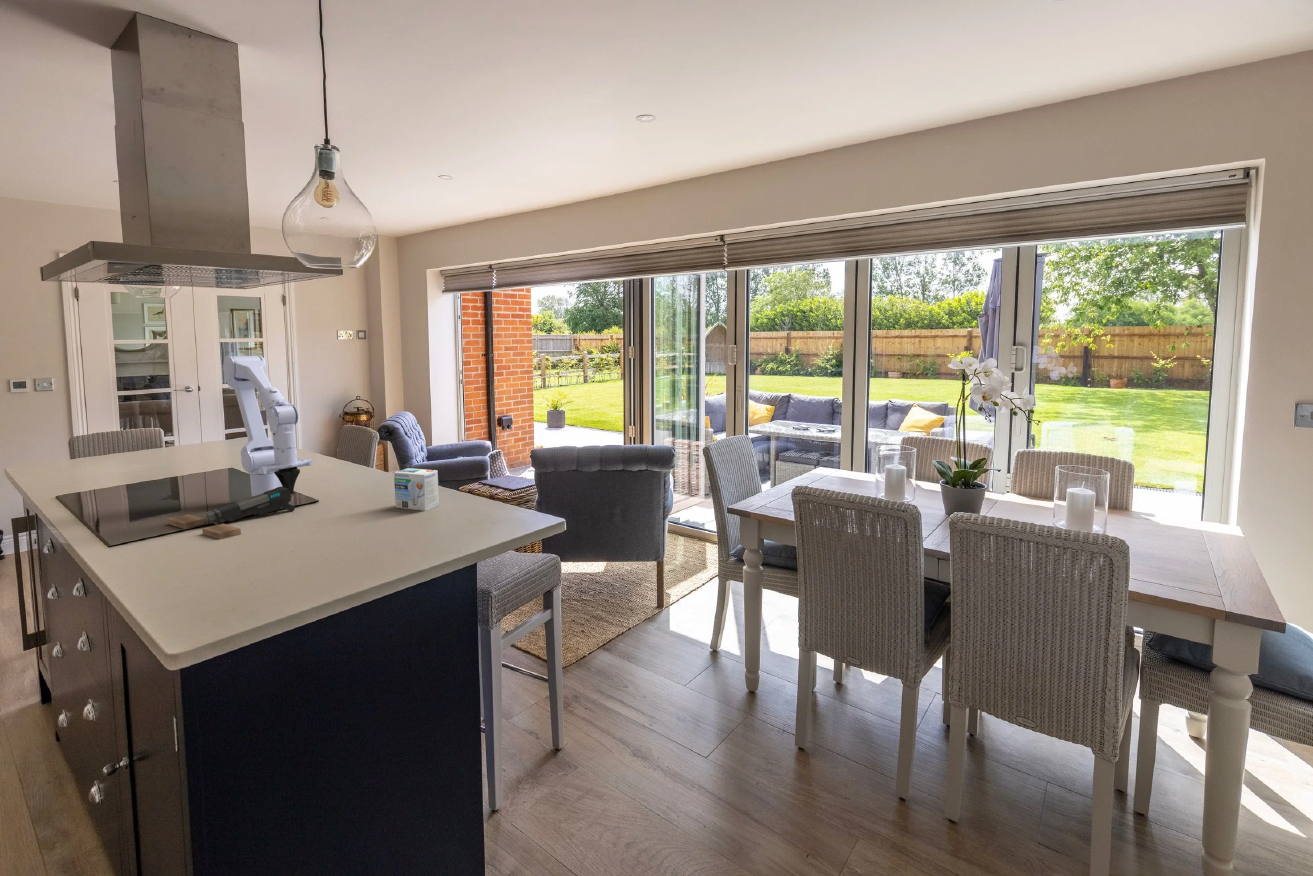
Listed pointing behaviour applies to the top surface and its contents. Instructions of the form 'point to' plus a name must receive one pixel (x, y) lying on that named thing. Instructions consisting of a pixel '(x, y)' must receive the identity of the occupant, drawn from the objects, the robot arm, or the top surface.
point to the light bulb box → (416, 489)
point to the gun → (253, 506)
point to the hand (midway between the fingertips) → (288, 494)
